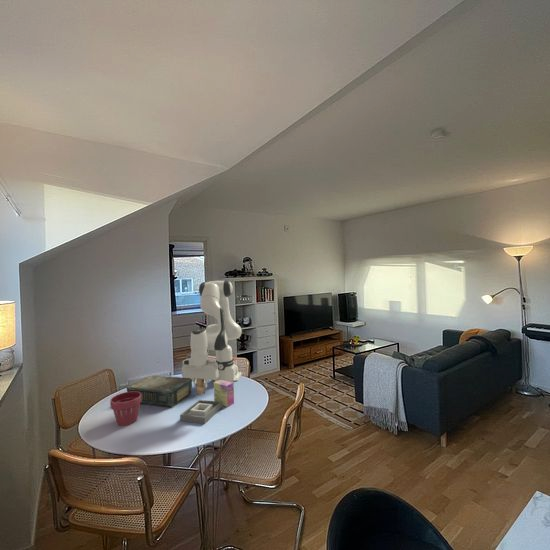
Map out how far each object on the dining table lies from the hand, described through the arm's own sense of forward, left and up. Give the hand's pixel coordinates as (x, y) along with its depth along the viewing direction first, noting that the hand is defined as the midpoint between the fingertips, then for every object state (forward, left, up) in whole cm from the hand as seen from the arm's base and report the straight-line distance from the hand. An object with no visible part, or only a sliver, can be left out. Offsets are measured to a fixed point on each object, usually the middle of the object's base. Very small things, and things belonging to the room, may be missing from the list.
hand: (200, 386), depth 152 cm
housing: (0, 0, -14) cm, 14 cm away
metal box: (-14, -36, -15) cm, 41 cm away
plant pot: (+15, -34, -15) cm, 40 cm away
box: (-14, +6, -15) cm, 21 cm away
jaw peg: (0, 0, -3) cm, 3 cm away
